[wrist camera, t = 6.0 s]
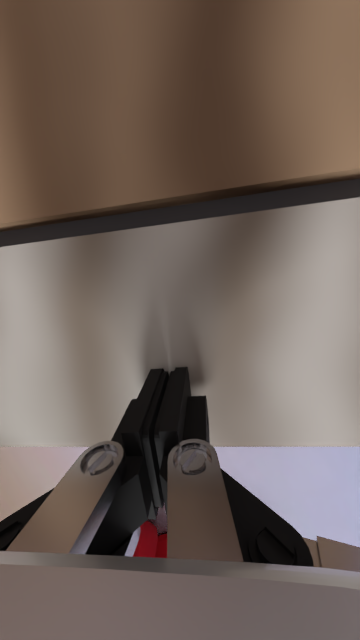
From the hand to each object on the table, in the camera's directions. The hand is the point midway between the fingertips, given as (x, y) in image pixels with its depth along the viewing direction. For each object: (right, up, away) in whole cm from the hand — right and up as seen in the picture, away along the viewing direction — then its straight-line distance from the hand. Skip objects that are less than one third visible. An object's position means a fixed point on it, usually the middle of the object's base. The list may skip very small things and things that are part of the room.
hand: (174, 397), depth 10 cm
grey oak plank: (-3, +2, +1) cm, 4 cm away
